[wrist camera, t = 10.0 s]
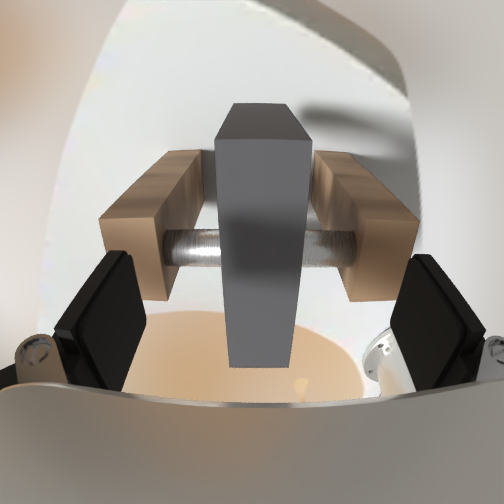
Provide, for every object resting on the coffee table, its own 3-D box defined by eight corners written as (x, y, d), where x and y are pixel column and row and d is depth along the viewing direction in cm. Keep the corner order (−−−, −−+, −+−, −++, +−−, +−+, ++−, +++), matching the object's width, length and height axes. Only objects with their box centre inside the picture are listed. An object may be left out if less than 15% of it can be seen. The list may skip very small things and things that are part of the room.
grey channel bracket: (278, 260, 27) (288, 367, 18) (237, 260, 27) (229, 367, 18) (285, 103, 20) (312, 140, 11) (233, 103, 20) (214, 139, 11)
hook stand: (341, 203, 29) (397, 300, 17) (173, 202, 29) (118, 298, 17) (347, 152, 27) (419, 221, 14) (168, 151, 27) (98, 219, 14)
